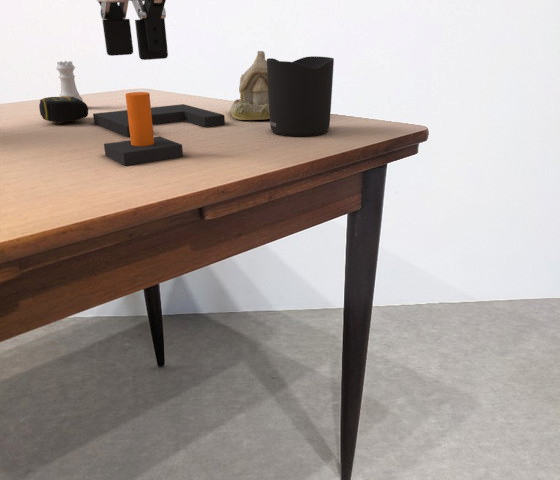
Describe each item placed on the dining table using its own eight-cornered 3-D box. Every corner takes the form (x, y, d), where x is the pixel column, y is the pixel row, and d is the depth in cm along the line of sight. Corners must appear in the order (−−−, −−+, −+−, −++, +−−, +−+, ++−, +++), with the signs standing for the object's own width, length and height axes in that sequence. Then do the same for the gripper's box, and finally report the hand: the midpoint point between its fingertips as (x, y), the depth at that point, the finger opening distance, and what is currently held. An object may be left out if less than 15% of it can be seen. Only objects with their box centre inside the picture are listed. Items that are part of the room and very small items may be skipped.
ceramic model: (232, 107, 109) (230, 48, 105) (294, 107, 109) (294, 48, 105) (226, 121, 96) (222, 55, 92) (296, 121, 96) (296, 54, 92)
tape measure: (91, 123, 96) (87, 99, 95) (46, 127, 93) (42, 102, 92) (80, 117, 102) (77, 94, 100) (38, 121, 99) (34, 97, 97)
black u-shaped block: (127, 137, 86) (126, 126, 85) (94, 123, 96) (92, 113, 96) (225, 124, 94) (224, 114, 94) (184, 112, 105) (183, 104, 104)
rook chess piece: (54, 108, 110) (47, 61, 107) (77, 105, 113) (71, 60, 110) (65, 111, 107) (57, 63, 104) (88, 108, 110) (82, 61, 107)
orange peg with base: (124, 165, 71) (117, 99, 68) (105, 155, 76) (97, 93, 72) (183, 156, 75) (178, 93, 71) (161, 147, 79) (155, 88, 76)
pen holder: (279, 124, 94) (278, 55, 90) (338, 126, 91) (340, 56, 87) (259, 135, 86) (257, 61, 82) (323, 139, 83) (324, 62, 79)
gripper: (55, -108, 67) (80, 55, 75) (111, -138, 54) (135, 63, 62) (119, -104, 71) (137, 51, 78) (186, -131, 58) (200, 58, 66)
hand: (136, 56), depth 70 cm, fingers open, 9 cm apart
